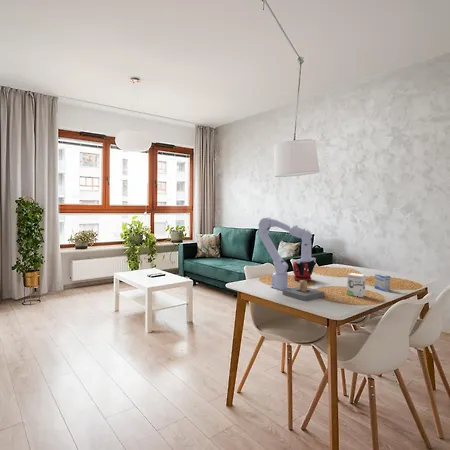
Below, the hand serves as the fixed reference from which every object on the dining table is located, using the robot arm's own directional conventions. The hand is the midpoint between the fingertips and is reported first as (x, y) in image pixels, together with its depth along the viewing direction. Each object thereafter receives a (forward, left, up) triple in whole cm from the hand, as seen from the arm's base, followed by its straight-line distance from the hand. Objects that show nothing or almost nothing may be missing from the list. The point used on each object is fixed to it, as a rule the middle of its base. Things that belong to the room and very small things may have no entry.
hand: (306, 274), depth 203 cm
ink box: (+24, +14, -10) cm, 29 cm away
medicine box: (+25, +39, -10) cm, 47 cm away
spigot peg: (+7, -10, -9) cm, 15 cm away
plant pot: (-20, +20, -10) cm, 30 cm away
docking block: (+7, -10, -9) cm, 15 cm away
